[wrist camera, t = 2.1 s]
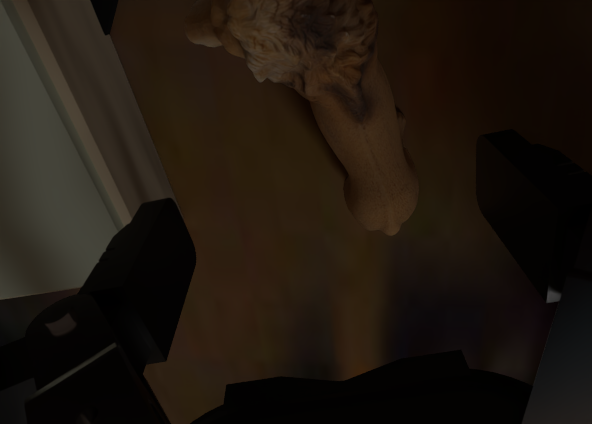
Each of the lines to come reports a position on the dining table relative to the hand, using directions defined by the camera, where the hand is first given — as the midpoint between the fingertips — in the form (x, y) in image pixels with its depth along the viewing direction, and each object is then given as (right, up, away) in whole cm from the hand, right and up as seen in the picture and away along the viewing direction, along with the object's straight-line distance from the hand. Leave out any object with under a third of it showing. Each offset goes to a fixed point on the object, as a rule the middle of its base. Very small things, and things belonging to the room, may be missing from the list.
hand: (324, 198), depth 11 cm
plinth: (-13, +4, +10) cm, 17 cm away
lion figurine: (+1, +6, +9) cm, 11 cm away
